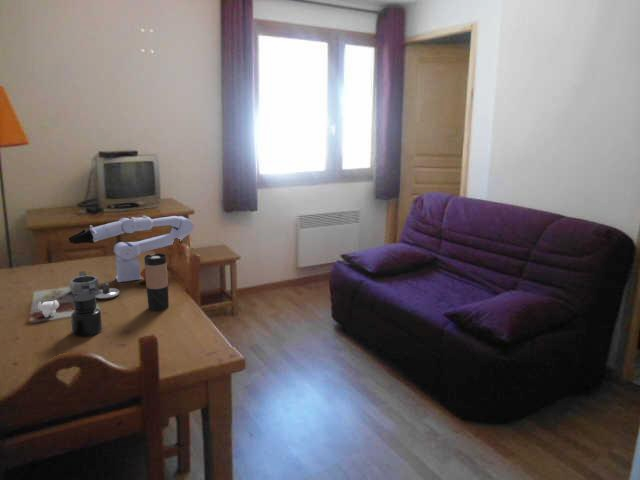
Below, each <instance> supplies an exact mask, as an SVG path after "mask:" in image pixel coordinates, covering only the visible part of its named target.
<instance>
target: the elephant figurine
mask: <svg viewBox="0 0 640 480" xmlns="http://www.w3.org/2000/svg"><path fill="white" fill-rule="evenodd" d="M59 307H60V303H59V301H58V300H57V299H55V300H51V301H44V302H43V303H42V302H41V301H38V304H37V310H39V311H41V312H42V313H41V314H42V315H43V316H44V317H45V318H49V316H50V317H51V318H52V317H55V314H56V311H57V310H58V309H59Z"/></svg>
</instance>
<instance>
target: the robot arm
mask: <svg viewBox="0 0 640 480" xmlns="http://www.w3.org/2000/svg"><path fill="white" fill-rule="evenodd" d="M163 226H171V227H172V228H171V230H170V232H169V233H166V234H161V235H158V236H153V237H150V238H146V239H142V240H139V241H128V242H124V241H119V242H117V243H115V244H114V245H113V253H114V254H115V256H116V257H115V265H116V266H115V267H116V275H115V279H116V282H117V283H123V282H131V281H136V280H137V281H140V280H142V276H141V264H140V260H139V258H138V256H139V255H140V254H141V253H145V252H149V251H152V250H156V249H157V250H158V249H159V248H164V247H168V246H171V245H174V244H173V242H174V239H175V238H178V239H180V242H181V241H183V240H184V239H185V237H187V236H188V235H191V234H192V231H193V230H194V227H195V224H194V222H193V220H192V219H189V218H186V217H185V216H183V215H178V216H177V215H171V216H170V215H169V216H165V217H158V218H157V217H156V218H151V217H149V216H147V215H142V217H141V216H140V217H134V216H132V217H130V218H128V217H121V218H120V219H119V220H117V221H113V222H108V223H106V224H101V225H98V226H93V225H92V224H90V225H89V229H87V230H86V229H82V230H81V231H79V232H78V233H76V234H74V235H72V236H70V237H68V241H69V243H70V244H74V245H76V244H87V243H89V244H94V243H96V242H98V241H101V240H105V239H109V238H113V237H117V236H119V235H122V234H125V233H126V234H133V233H134V232H140V231H142V232H143V231H149V230H151V229H152V228H153V227H163Z"/></svg>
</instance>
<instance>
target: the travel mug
mask: <svg viewBox="0 0 640 480" xmlns="http://www.w3.org/2000/svg"><path fill="white" fill-rule="evenodd" d="M143 259H144V268H145V274H146V280H145V285H146V295H147V296H146V297H147V304H148V305H147V306H148V309H149V311H152V312H162V311H165V310H168V309H169V304H170V303H169V299H170V298H169V282H168V281H169V280H168V268H167V267H168V266H167V256H166V254H164V253H155V254H152V255H151V254H145V256H144V258H143Z"/></svg>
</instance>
